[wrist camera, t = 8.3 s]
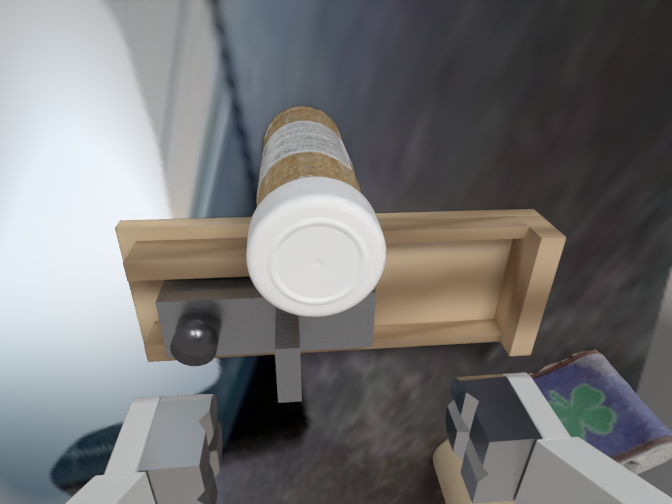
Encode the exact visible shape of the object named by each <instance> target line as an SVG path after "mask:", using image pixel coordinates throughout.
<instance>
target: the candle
mask: <svg viewBox="0 0 672 504" xmlns="http://www.w3.org/2000/svg"><path fill="white" fill-rule="evenodd" d="M462 463H463V460H462V459H460V458H459V457H458V456H457V455H456V454H454V453H453V451H452V448H451V445H450V443H449V439H446V440H445V441H443V442H442V443H441V444H440V445H438V447H437V448H436V449H435V451H434V453H433V464H434V467H435V471H436V474H437V477H438V480H439V483H440V486H441V489H442V493H443V496H444V499H445V502H446V504H472V501H471V499H470V496H469V494H468V491H467V488H466V486H465V483H464V480H463V478H462V475H461V473H460V471H461V467H462ZM514 502H515V501H506V502H491V503H475V504H514Z"/></svg>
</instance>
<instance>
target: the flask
mask: <svg viewBox="0 0 672 504" xmlns="http://www.w3.org/2000/svg"><path fill="white" fill-rule="evenodd" d="M528 375H530V376H531V378H532V379H533V381H534V382H535V384H536V385H537V387H538V388H539V390H540V391H541V393H542V394H543V396H544V397H545V399H546V400H547V402H548V403H549V405H550V406H551V408H552V409H553V411H554V412H555V414H556V415H557V417H558V418H559V420H560V421H561V423H562V424H563V426H564V427H565V429H566V430H567V432H568V433H569V435H570V436H571V437H579V438H581V439H582V440H584V441H585V442H587V443H588V444H590V445H592V446H593V447H595V448H596V449H598V450H599V451H601V452H602V453H604V454H605V455H607V456H608V457H610V458H611V459H613V460H614V461H616V462H617V463H619V464H620V465H622V466H623V467H625V468H626V469H628V470H630V471H631V472H633V473H634V474H636V475H638V474H640V473H642V472H644V471H646V470H648V469H651V468H653V467H655V466H658V465H660V464H662V463H664V462H666V461H668V460H670V459H671V458H672V432H671V431H670V430H669V429H668V428H667V427H666V426H665V425H663V424H662V423H661V421H660V420H659V419H658V418H657V417H656V416H655V415H654V414H653V413H652V411H651V410H650V409H649V407H647V405H645V403H644V402H643V401H642V400H641V399H640V398H639V397H638V395H637V394H636V393H635V392H634V391H633V390H632V388H631V387H630V385H629V384H628V383H627V382H626V381H625V380H624V379H623V378H622V377H621V376H620V375H619V374H618V372H617V371H616V370H615V369H614V368H613V367H612V365H611V364H610V363H609V362H608V361H607V359H606V358H605V357H604V356H603V355H602V354H601V353H599V352H598V351H597V350H590V351H582V352H579V353H576V354H573V357H571V358H568V359H566V360H563V361H560V362H555V363H553V364H549V365H548V366H545V367H544V368H542V369H541V370H540V371H539V372H538V373H535V374H533V373H530V374H528Z"/></svg>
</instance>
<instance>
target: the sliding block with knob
mask: <svg viewBox="0 0 672 504" xmlns="http://www.w3.org/2000/svg"><path fill="white" fill-rule="evenodd" d="M155 303H156V308H157V312H158V317H159V321H160V326H161V330H162V335H163V339H164V344H165V348H166V352H167V357H168V359H172V358H175V359H176V360H177V361H179V362H180V363H183V364H185V365H189V366H200V365H204V364H207V363H209V362H210V361H212V360H213V359H214V357H215V356H224V355H242V354H259V353H275V360H276V375H277V390H278V403H282V402H297V401H302V393H301V360H300V351H311V350H329V349H346V348H364V347H372V345H373V331H374V318H375V304H376V290H375V287H374V289H373V290H372V291H371V292H370V294H369V295H367V296H366V297H365V298H364V299H363V300H362V301H361V302H359V303H358V304H356V305H355V306H353V307H351V308H349V309H347V310H345V311H342V312H340V313H337V314H333V315H328V316H320V317H307V316H300V315H295V314H292V313H289V312H286V311H283V310H281V309H279V308H277V307H276V306H274V305H273V304H271V303H270V302H269V301H267V300H266V299H265V298H264V297H263V296H262V295H261V294H260V293H259V291H258V290H257V289H256V287H255V286H254V284H253V282H252V280H251V278H250V276H245V277H220V278H196V279H171V280H164V283H163V285H162V288H161V290H160V292H159V295H158V297H157V300H156V302H155Z"/></svg>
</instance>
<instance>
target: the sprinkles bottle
mask: <svg viewBox="0 0 672 504" xmlns="http://www.w3.org/2000/svg"><path fill="white" fill-rule="evenodd" d="M246 260H247V267H248V272H249V275H250V278H251V280H252V282H253V284H254V286H255V287H256V289H257V290H258V291H259V293H260V294H261V295H262V296H263V297H264V298H265V299H266V300H267V301H269V302H270V303H271V304H273V305H274V306H276V307H277V308H279V309H281V310H283V311H286V312H289V313H292V314H295V315H300V316H307V317H320V316H328V315H333V314H337V313H340V312H342V311H345V310H347V309H349V308H351V307H353V306H355V305H356V304H358V303H359V302H361V301H362V300H363V299H364V298H365V297H366V296H367V295H369V294H370V292H371V291H372V290H373V289H374V287H375V286H376V285H377V283H378V281H379V279H380V277H381V275H382V273H383V270H384V266H385V261H386V243H385V239H384V235H383V232H382V229H381V227H380V224H379V222H378V219H377V217H376V215H375V212H374V210H373V208H372V206H371V205H370V203H369V202H368V200H367V199H366V198H365V197H364V196H363V195H362V193H361V190H360V186H359V184H358V182H357V180H356V177H355V174H354V169H353V166H352V163H351V161H350V159H349V156H348V154H347V151H346V149H345V146H344V144H343V142H342V139H341V135H340V133H339V130H338V128H337V126H336V125H335V123H334V122H333V121H332V119H331V118H329V117H328V116H327V115H326V114H325V113H324V112H322V111H321V110H317V109H314V108H312V107H305V106H298V107H291V108H289V109H287V110H285V111H282V112H281V113H279V114H278V115H277V116H276V117H275V118H274V119H273V120H272V121H271V122H270V124H269V125H268V127H267V129H266V133H265V135H264V141H263V155H262V161H261V168H260V176H259V184H258V190H257V209H256V210H255V212H254V214H253V216H252V219H251V221H250V226H249V231H248V238H247V250H246Z"/></svg>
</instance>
